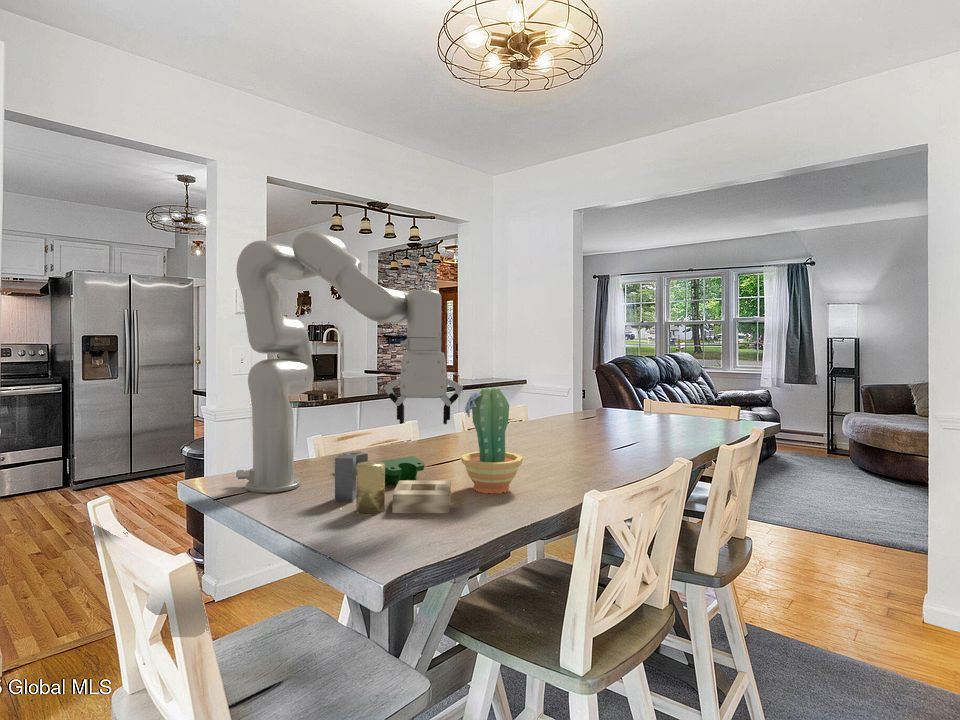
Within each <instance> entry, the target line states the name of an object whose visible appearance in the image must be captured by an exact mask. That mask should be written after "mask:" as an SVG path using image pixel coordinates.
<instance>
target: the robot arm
mask: <svg viewBox="0 0 960 720" xmlns="http://www.w3.org/2000/svg"><path fill="white" fill-rule="evenodd" d="M317 276H318V277H320V278H321V279H322V280H324V281H325V282H327V284H328V285H329V284H330V285H331V286H332V287H333V288H335V289H336V291H337V293H338V295H340V297H341V299H343V301H344V302H345V303H346V304H347V305H349V306H350V307H351V308H353V309H354V310H356V311H357V312H358V313H359V314H361V315H363V316H364V317H366V318H367V319H369V320H370V321H372V322H377V323H383V324H384V323H387V324H406V339H405V340H400V342H399V343H400V347H401V348H405V349H406V351H405V352H403V353H402V357H401V363H400V364H401V365H400V377H399V378H397V379H395V380H393V381H391V382H389V383H387V384H385V385H384V386H383V387H384V390H385V392H386V393H387V395H388V398H389V399H390V400H391V401H392V403H394V404H395V405H396V420H399V425H402V424H404V423H405V404H404V401H405V400H406V399H407V398H408V399H441V400H442V402H443V403H444V405H443V413H442V414H443V420H442V421H443V423H442V424H443V425H447V424H448V421H451V405H452V404H453V403H455V402H456V401H457V400H458V399H459V397H460V395H461V393H462V391H463V389H464V386H463V385H462V384H460V383H458V382H456V381H454V380H452V379H450V378H448V377H447V361H446V355H445V352H442V295H441V293H440V292H439V291H438V290H433V289H413V290H411V291H404V290H397V289H393V288H389V287H383V286H381V285H380V284H378V283H377V282H375V281H374V280H372V279H371V278H369V277H368V276H367V275H365V274H364V273H363V272H362V262H361V260H359V258H357V257H356V256H355V255H352V254H351V253H350V252H348V250H347V247H346V245H345V244H344V242H342V240H340V238H338V237H335V236H333V235H329V234H326V233H322V232H319V231H315V230H305V231H302V232H299V234H297V235H296V236H295V238H294V239H293V241H292V245H288V244H284V243H280V242H277V241H271V240H256V241H255V240H254V241H252V242H250V243H248V244H247V245H246V246H245V247H244V248H243V249H242V250H241V252H240V254H239V256H238V259H237V262H236V278H237V282H238V286H239V290H240V293H241V298H242V304H243V311H244V316H245V317H244V319H245V326H246V332H247V339H248V342H249V345H250V348H251V349H252V350H253V351H255V353H258V354H265V355H270V354H272V355H273V354H278V358H268V359H263V360H260V361H258V362H256V363H254V365H253V366H252V367H251V368H250V369H249V372H248V376H247V385H248V386H247V387H248V390H249V396H250V401H251V413H252V421H251V422H252V423H251V424H252V468H250V469H249V470H247V469H237V470H236V473H235V477H236V478H237V479H238V480H247V481H248V482H246V484H245V489H246V490H247V491H248V492H252V493H260V494H261V493H262V494H265V493H266V494H268V493H269V494H271V493H281V492H286V491H290V490H294V489H296V488H298V487H299V486H301V480H300V479H299V478H298V477H296V476H294V475H295V474H294V469H295V468H294V460H295V459H294V453H295V451H294V439H295V438H294V437H295V436H294V435H295V434H294V430H295V429H294V428H295V427H294V411H293V408H292V405H291V402H290V400H289V396H290V397H291V396H295V395H296V396H298V395H301V394H304V393H306V392H307V391H308V390H309V389H311V387H312V385H313V383H314V376H315V375H314V373H315V372H314V364H313V358H312V357H313V356H312V352H311V344H310V337H309V333H308V330H307V329H306V327H305V325H304V324H303V322H302V321H300V320H299V319H297V317H292V316H284V314H283V312H282V307H281V300H280V299H281V298H280V296H279V293H278V291H277V289H276V287H275V286H274V284H273V283H272V281H271V279H272V278H276V279H283V280H287V281H301V280H306V279H309V278H314V277H317ZM397 386H399V393H400V396H397V395H396V393H395V392H394V390H393V388H395V387H397ZM448 386H449V387H451V388H453V389H455V390H454V393H453V394H452V395H451V396H450V397H449V396H448V394H447V390H448V389H447V388H448Z"/></svg>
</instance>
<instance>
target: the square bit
mask: <svg viewBox="0 0 960 720" xmlns="http://www.w3.org/2000/svg"><path fill="white" fill-rule="evenodd" d="M356 482H357V473H356V455H343V454H338V455H336V457H334V503H353V502H354V501H355V500H354V499H356Z"/></svg>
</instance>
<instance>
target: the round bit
mask: <svg viewBox="0 0 960 720" xmlns="http://www.w3.org/2000/svg"><path fill="white" fill-rule="evenodd" d="M385 493H386V484H385V463H383V462H378V461H376V460H374V461H372V460H371V461H368V462H361V463H358V464H357V473H356V498H355V499H356V500H355V501H356V504H355V505H356V507H355V508H356V509H355V510H356V511H357V512H358V514H360V515H366V514H371V515H377V514H378V515H379V514H382V513H383V512H384V511H386V510H385V509H386V507H385V506H386V505H385V503H386V499H385V497H386V496H385V495H386V494H385ZM357 512H356V513H357ZM381 512H382V513H381Z"/></svg>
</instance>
